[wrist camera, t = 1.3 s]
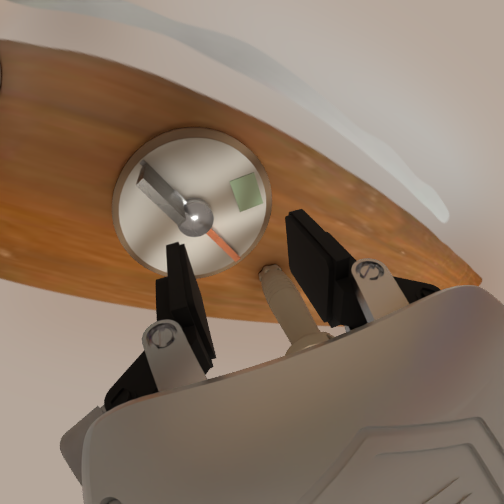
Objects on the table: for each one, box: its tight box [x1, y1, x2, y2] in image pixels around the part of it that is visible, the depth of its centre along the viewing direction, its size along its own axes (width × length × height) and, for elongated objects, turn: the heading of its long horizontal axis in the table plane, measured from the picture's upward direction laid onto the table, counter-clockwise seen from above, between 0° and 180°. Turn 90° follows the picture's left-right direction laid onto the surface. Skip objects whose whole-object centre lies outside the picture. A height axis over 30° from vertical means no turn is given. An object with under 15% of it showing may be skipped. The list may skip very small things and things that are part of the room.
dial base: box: [112, 127, 272, 279], centre depth 30 cm, size 17×17×3 cm
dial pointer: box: [136, 163, 241, 262], centre depth 26 cm, size 14×4×5 cm, turn 35°
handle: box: [259, 264, 334, 356], centre depth 33 cm, size 5×6×15 cm
